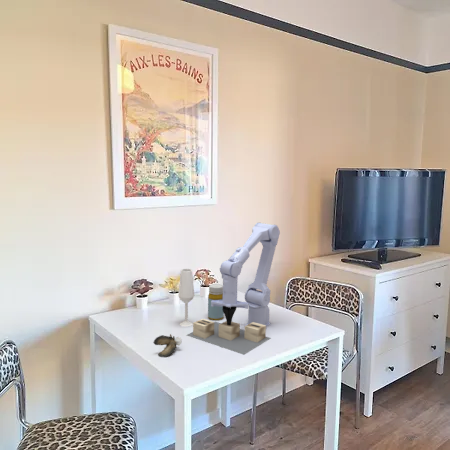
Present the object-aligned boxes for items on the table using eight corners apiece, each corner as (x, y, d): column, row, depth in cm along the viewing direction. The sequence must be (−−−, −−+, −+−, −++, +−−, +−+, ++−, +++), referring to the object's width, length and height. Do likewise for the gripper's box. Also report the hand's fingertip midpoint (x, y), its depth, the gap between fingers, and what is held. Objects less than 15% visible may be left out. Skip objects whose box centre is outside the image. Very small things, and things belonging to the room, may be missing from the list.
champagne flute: (175, 325, 178) (175, 270, 174) (184, 320, 184) (184, 267, 180) (188, 329, 175) (188, 272, 171) (197, 323, 181) (197, 269, 177)
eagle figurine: (164, 341, 159) (148, 345, 151) (174, 328, 157) (159, 331, 149) (176, 356, 155) (161, 361, 148) (187, 343, 154) (171, 347, 146)
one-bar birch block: (252, 333, 170) (253, 321, 169) (265, 337, 166) (265, 325, 165) (244, 338, 165) (244, 326, 164) (257, 342, 161) (257, 329, 161)
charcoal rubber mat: (215, 322, 182) (215, 321, 182) (271, 339, 166) (271, 338, 166) (186, 336, 167) (186, 335, 167) (244, 355, 151) (244, 354, 151)
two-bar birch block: (202, 330, 172) (202, 318, 172) (214, 334, 169) (214, 321, 168) (193, 334, 168) (193, 322, 167) (204, 338, 164) (204, 326, 163)
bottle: (225, 320, 185) (226, 287, 183) (211, 322, 183) (211, 288, 181) (220, 315, 192) (220, 283, 190) (205, 316, 189) (206, 284, 187)
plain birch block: (227, 332, 171) (227, 320, 170) (239, 335, 167) (239, 323, 167) (218, 336, 166) (218, 324, 166) (230, 340, 163) (231, 328, 162)
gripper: (209, 293, 161) (209, 326, 163) (247, 295, 159) (246, 329, 161) (213, 288, 168) (212, 320, 170) (249, 290, 166) (248, 323, 168)
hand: (229, 324), depth 166 cm, fingers closed, pressing on plain birch block
